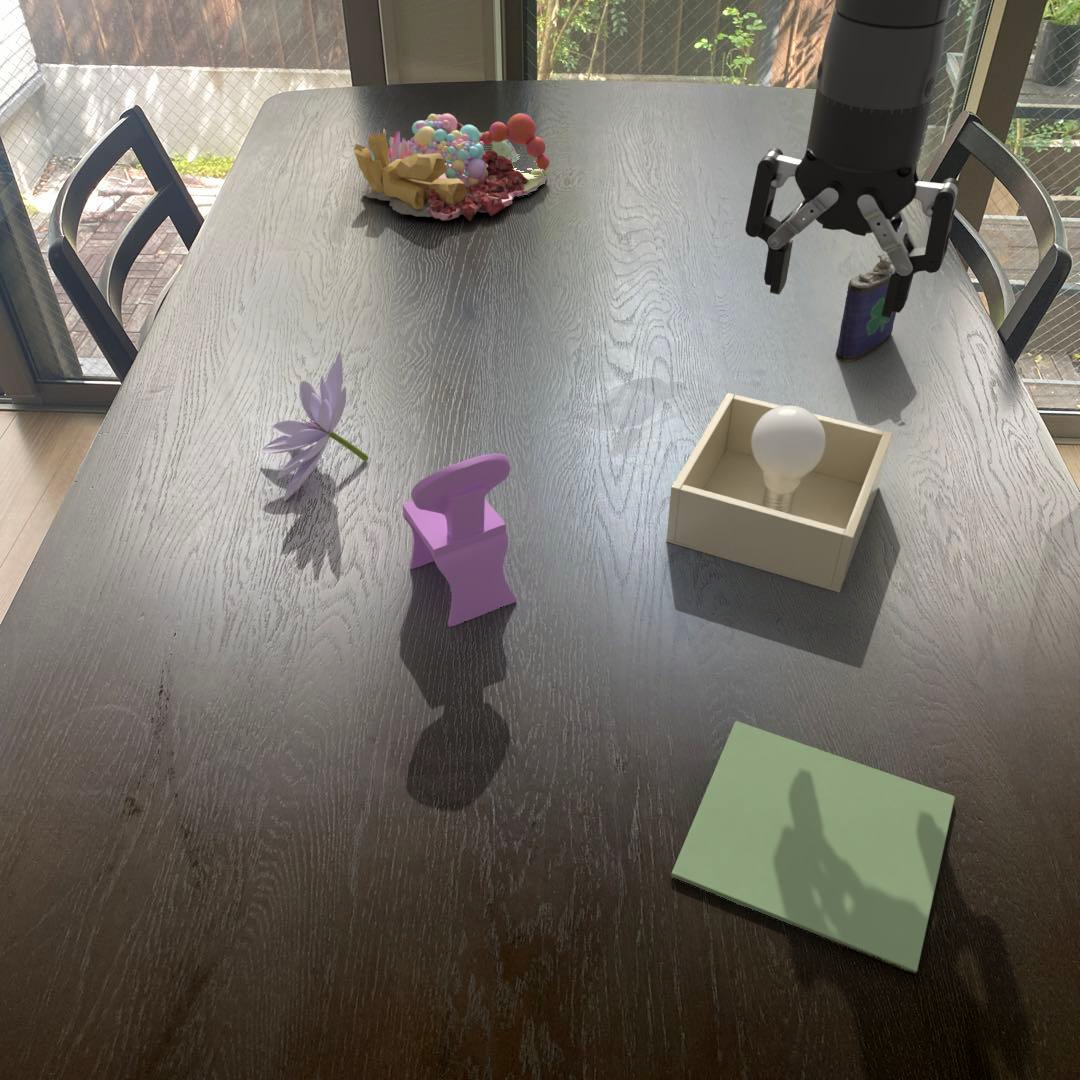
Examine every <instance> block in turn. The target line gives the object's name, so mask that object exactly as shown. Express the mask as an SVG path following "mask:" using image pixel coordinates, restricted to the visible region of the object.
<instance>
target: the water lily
mask: <svg viewBox="0 0 1080 1080" xmlns="http://www.w3.org/2000/svg"><path fill="white" fill-rule="evenodd" d="M342 357H343V356H342V350H341V349H340V350H339V352H338V353H337V356H336V358H335V362H332V365H331V367H330V369H329V371H328V373H327V376H326V379H325V378H324V375H323V374H322V375H321V377H320V382H319V391H318V390H317V389H316V388H315V386H314V385H312V384H311V382H309V381H307V380H302V381H301V383H300V385H299V400H300V403H301V407H302V408H303V410H304V412H305V413H306V414H305V416H306V417H307V418H309V421H306V420H305V419H304V418H300V420H301V421H297V420H283V421H282V420H281V421H279V422H276V423H274V424H273V425H272V429H273V431H274V432H276V433H277V434H279V435H281V436H279V437H277V438H274V439H273V440H271V441H269V442H268V443H267V444H266V445H265V446H264V447H262V448H261V453H263V454H284V453H289V452H294V451H297V450H300V449H303V448H305V447H308V446H309V447H308V448H306V449H305V450H303V451H301V452H299V453H298V454H296V455H295V456H293V457H292V458H291V459H290V460H289V461H288V462H287V463H286V464H285V465H284V466H283V467H282V469H281V470H280V471H279V473H278V475H277V476H276V479H277V480H279V479H281V478H283V477H284V476H287V475H289V474H290V473H292V472H294V471H295V470H297V469H298V470H297V471H296V472H295V473H294V475H293V477H292V478H291V481H290V483H289V484H288V487H287V489H286V491H285V494H284V499H283V502H284V503H285V502H286V501H287V500H289V499H290V498H291V497H292V496H293V495H294V494H295V493H296V492H297V491H298V489H300V488H301V486H302V485H303V484H304V483H305V481H306V480H307V479H308V478H309V477H310V475H311V474H312V472H313V471H314V469H315V468H316V466H317V465H318V463H319V461H320V460H321V458H322V456H323V454H324V452H325V450H326V448H327V446H328V444H329V440H330V438H331V439H333V440H334V441H336V442H338V443H339V444H340V445H341V446H343V447H345V448H346V449H348V450H349V451H350V452H352V453H353V454H354V455H355V456H356V457H358V458H359V459H360V460H362V462H365V463H366V462H367V461H368V460H369V455H368V454H366V453H365V452H364V451H363V450H361V449H359V448H358V447H357V446H355V445H354V444H353V443H352V442H349V441H348V440H347V439H345V438H343V437H342V436H341V435H339V434H337V433H335V432H334V430H335V429H336V428H337V427H338V425H339V423H340V421H341V418H342V416H343V413H344V410H345V408H346V407H345V406H346V401H347V386H344V387H343V358H342ZM302 421H303V422H302ZM310 445H311V446H310Z"/></svg>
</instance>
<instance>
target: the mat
mask: <svg viewBox="0 0 1080 1080" xmlns="http://www.w3.org/2000/svg"><path fill="white" fill-rule="evenodd" d="M955 799H956V796H955V795H952V794H949V793H947V792H944V791H941V790H938V789H936V788H935V789H934V788H932V787H929V786H926V785H923V784H920V783H917V782H915V781H911V780H909V779H906V778H904V777H901V776H897V775H894V774H891V773H889V772H885V771H882V770H880V769H877V768H874V767H871V766H868V765H866V764H863V763H859V762H857V761H854V760H851V759H847V758H845V757H842V756H839V755H836V754H833V753H831V752H827V751H825V750H821V749H819V748H816V747H813V746H810V745H807V744H805V743H802V742H799V741H796V740H793V739H789V738H787V737H784V736H781V735H778V734H775V733H772V732H771V731H770V732H769V731H766V730H764V729H762V728H761V729H760V728H758V727H755V726H752V725H749V724H746V723H743V722H741V721H738V720H735V721H734V723H733V726H732V728H731V730H730V733H729V735H728V737H727V740H726V742H725V745H724V747H723V750H722V752H721V754H720V757H719V758H718V762H717V763H716V766H715V768H714V770H713V774H712V775H711V778H710V780H709V783H708V785H707V787H706V790H705V793H704V795H703V797H702V799H701V802H700V804H699V807H698V809H697V811H696V813H695V816H694V818H693V820H692V823H691V825H690V828H689V830H688V833H687V835H686V837H685V840H684V842H683V845H682V846H681V849H680V852H679V854H678V857H677V859H676V862H675V864H674V866H673V868H672V871H671V874H670V877H671V876H672V877H673V878H677V879H679V880H682V881H684V882H687V883H690V884H692V885H694V886H696V887H699V888H701V889H703V890H705V891H704V892H706V891H707V892H706V893H708V892H711V893H714V894H716V895H717V896H716V895H715V896H716V897H718V896H720V897H719V898H721V897H723V898H725V899H727V900H726V901H728V900H729V901H728V902H730V901H732V902H731V903H733V902H734V903H733V904H735V903H736V904H735V905H738V906H740V905H741V907H743V906H744V907H743V908H745V907H748V908H750V909H752V910H751V911H753V910H755V911H758V912H761V913H763V914H766V915H768V916H771V917H773V918H776V919H778V920H781V921H784V922H786V923H788V924H791V925H792V924H793V925H795V926H798V927H800V928H803V929H805V930H808V931H810V932H813V933H815V934H818V935H821V936H823V937H826V938H828V939H831V940H833V941H836V942H839V943H841V944H844V945H847V946H849V947H852V948H855V949H857V950H860V951H863V952H865V953H868V954H871V955H874V956H876V957H879V958H881V959H882V960H885V961H888V962H890V963H893V964H896V965H898V966H900V967H902V968H905V969H907V970H910V971H913V972H918V969H919V964H920V960H921V955H922V951H923V947H924V942H925V939H926V938H925V937H926V933H927V928H928V923H929V919H930V914H931V910H932V904H933V900H934V895H935V892H936V887H937V882H938V879H939V873H940V869H941V863H942V859H943V855H944V850H945V845H946V841H947V836H948V831H949V828H950V823H951V818H952V814H953V810H954V809H953V808H954V805H955ZM673 878H672V879H673ZM696 887H695V888H696ZM701 889H700V890H701ZM703 890H702V891H703ZM711 893H710V894H711ZM723 898H722V899H723ZM725 899H724V900H725ZM748 908H747V909H748ZM750 909H749V910H750ZM755 911H754V912H755ZM758 912H757V913H758ZM763 914H762V915H763ZM768 916H767V917H768ZM773 918H772V919H773ZM778 920H777V921H778ZM788 924H787V925H788Z"/></svg>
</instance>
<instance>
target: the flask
mask: <svg viewBox="0 0 1080 1080" xmlns="http://www.w3.org/2000/svg"><path fill="white" fill-rule="evenodd" d="M876 257H877V258H879V261H878V262H877V263H876V264H875V265H874V266H873V267H872V269H871V270H869V271H868V272H865V273H864V274H863V273H858V275H855V276H853V277H852V278H851V279H850V280H849V282H848V286H847V291H846V296H845V302H844V309H843V314H842V319H841V324H840V331H839V336H838V343H837V347H836V350H835V358H836V357H837V358H836V359H838V358H839V359H841V360H842V362H846V363H849V362H855V361H858V360H860V359H862V358H864V357H867V356H868V355H871V354H872V353H873V352H875V351H876V350H877V349H878V348H880V347H881V346H882V345H883V344H884V343H886V342H887V341H888V340H889V338H890V337H891V335H892V333H893V330H894V323H895V319H896V315H897V312H893V315H892V317H891V319H890V318H885V317H881V315H882V311H883V306H884V302H885V298H886V294H887V290H888V285H889V281H890V277H891V273H892V271H893V269H894V266H893V264H892V262H891V260H890V258H889V257H887V256H885V254H883V253H881V254H877V255H876ZM867 354H868V355H867ZM839 359H838V360H839ZM857 359H858V360H857ZM841 360H840V361H841Z"/></svg>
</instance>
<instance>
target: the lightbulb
mask: <svg viewBox="0 0 1080 1080" xmlns="http://www.w3.org/2000/svg"><path fill="white" fill-rule="evenodd" d="M814 414H815V413H814V412H812V411H810V410H808V409H807V408H804V407H801V406H800V405H799V406H798V405H794V404H793V405H790V404H789V405H788V404H787V405H781V406H780V407H776V408H774V409H772V410H770V411H768V412H767V413H765V414H764V415H763V416H762V417H761V418H760V419H759V421H758V422H757V424H756V425H755V427H754V430H753V432H752V437H751V449H752V453H753V456H754V458H755V460H756V462H757V464H758V465H759V467H760V468H761V470H762V472H763V481H764V484H765V489H764V495H763V502H762V506H763V507H767V508H770V509H774V510H778V511H781V512H785V513H788V512H789V511H790V510H791V509H792V503H793V498H794V493H795V490H796V489H797V487H798V486H799V484H800V482H801V480H802V478H803V477H804V476H805V475H807V474H808V473H810V472H811V471H812V470H813V469H814V468H815V467H816V466H817V465H818V464H819V462H820V461H821V459H822V457H823V455H824V452H825V448H826V435H825V431H824V428H823V426H822V424H821V422H820V421H819V419H818V418H817V417H816V416H815V415H814Z"/></svg>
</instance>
